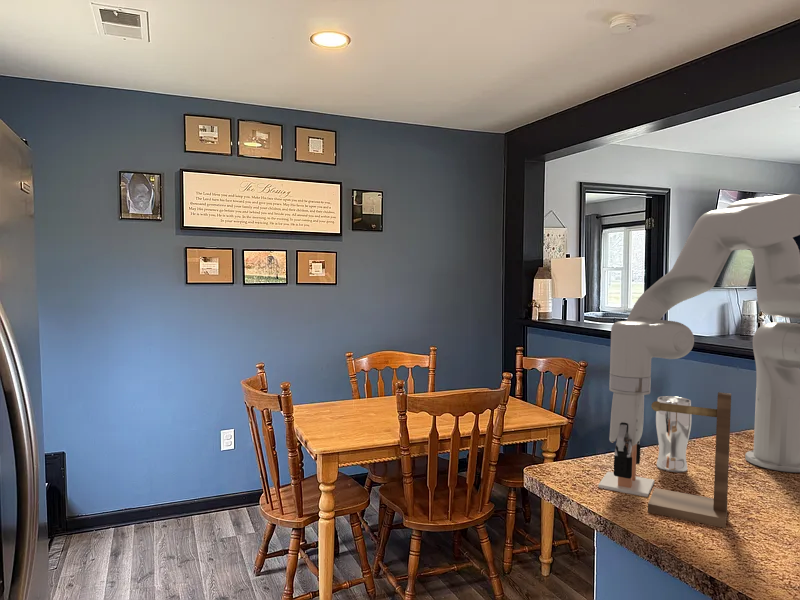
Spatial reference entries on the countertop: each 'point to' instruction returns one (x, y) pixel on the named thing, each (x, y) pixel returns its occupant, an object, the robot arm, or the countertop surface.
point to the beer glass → (673, 435)
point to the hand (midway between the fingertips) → (627, 469)
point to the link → (626, 481)
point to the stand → (715, 508)
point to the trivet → (638, 487)
